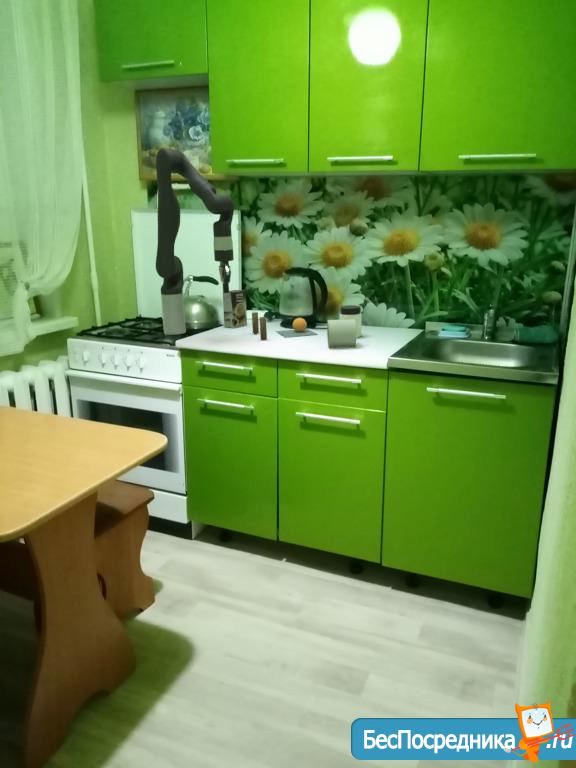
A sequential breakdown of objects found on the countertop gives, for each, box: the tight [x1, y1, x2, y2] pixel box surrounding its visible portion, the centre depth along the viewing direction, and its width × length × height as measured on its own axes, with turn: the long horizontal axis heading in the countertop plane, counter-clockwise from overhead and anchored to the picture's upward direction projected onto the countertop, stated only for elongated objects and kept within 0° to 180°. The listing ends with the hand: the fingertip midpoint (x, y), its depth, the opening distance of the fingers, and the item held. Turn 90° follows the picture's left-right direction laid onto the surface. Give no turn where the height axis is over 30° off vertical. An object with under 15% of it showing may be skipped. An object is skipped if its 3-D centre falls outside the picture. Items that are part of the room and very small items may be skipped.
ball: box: [292, 317, 308, 332], centre depth 252 cm, size 6×6×6 cm
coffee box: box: [222, 289, 248, 329], centre depth 269 cm, size 9×6×16 cm
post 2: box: [259, 316, 268, 341], centre depth 239 cm, size 3×3×9 cm
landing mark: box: [275, 328, 318, 338], centre depth 251 cm, size 14×14×1 cm
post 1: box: [251, 311, 260, 335], centre depth 251 cm, size 3×3×9 cm
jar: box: [339, 304, 362, 339], centre depth 239 cm, size 9×8×12 cm
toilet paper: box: [326, 319, 357, 348], centre depth 223 cm, size 10×10×10 cm
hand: (226, 292), depth 237 cm, fingers closed
